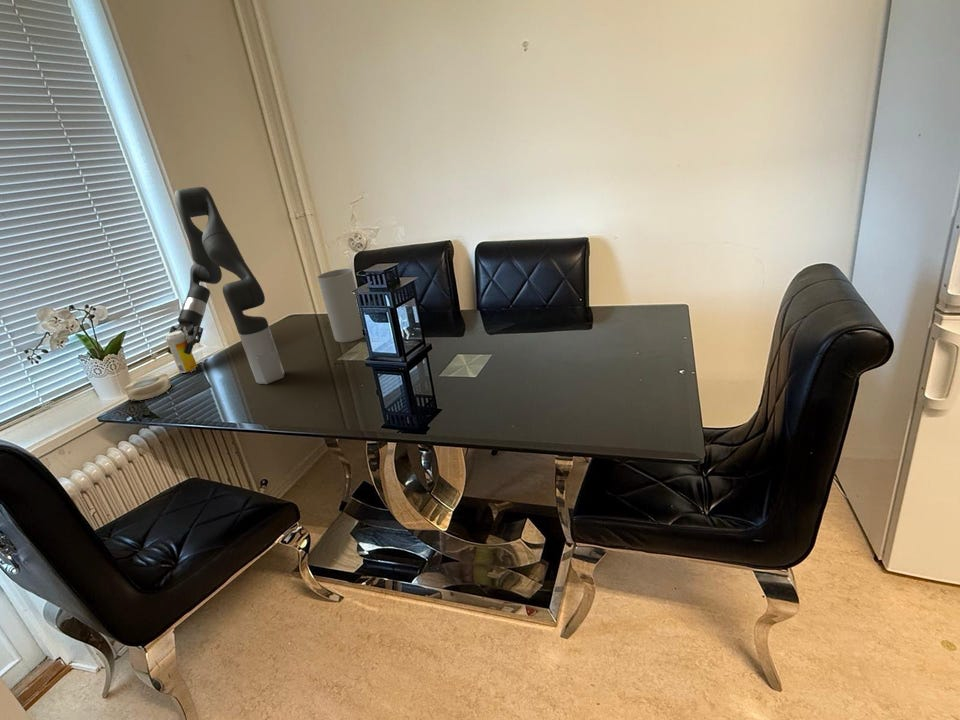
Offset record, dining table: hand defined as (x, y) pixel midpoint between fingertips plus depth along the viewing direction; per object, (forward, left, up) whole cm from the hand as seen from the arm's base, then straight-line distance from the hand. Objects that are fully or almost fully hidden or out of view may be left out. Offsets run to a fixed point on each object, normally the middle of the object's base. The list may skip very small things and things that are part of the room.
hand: (178, 353), depth 187 cm
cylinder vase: (-27, -54, -8) cm, 61 cm away
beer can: (+1, -1, -8) cm, 8 cm away
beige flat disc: (-8, +13, -8) cm, 17 cm away
